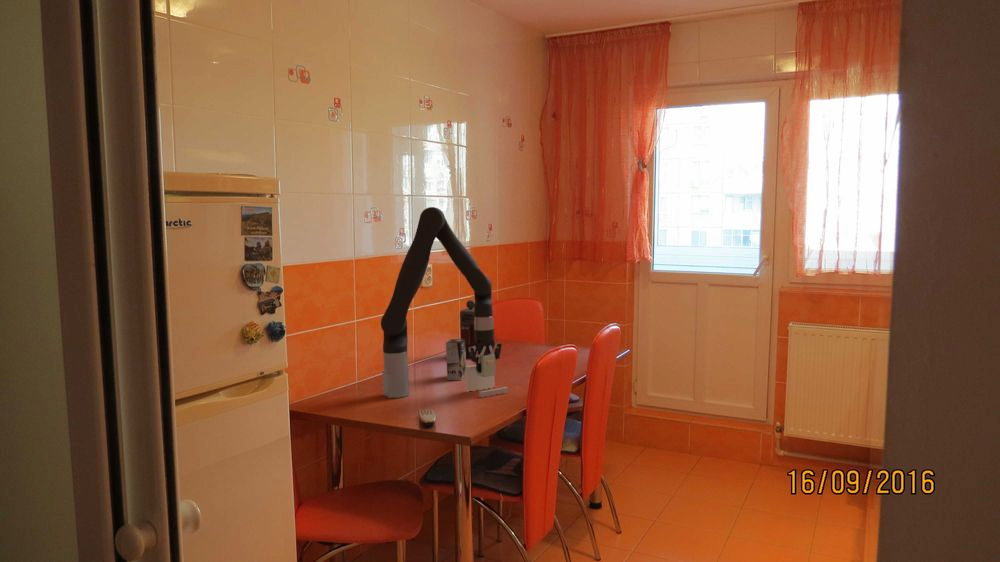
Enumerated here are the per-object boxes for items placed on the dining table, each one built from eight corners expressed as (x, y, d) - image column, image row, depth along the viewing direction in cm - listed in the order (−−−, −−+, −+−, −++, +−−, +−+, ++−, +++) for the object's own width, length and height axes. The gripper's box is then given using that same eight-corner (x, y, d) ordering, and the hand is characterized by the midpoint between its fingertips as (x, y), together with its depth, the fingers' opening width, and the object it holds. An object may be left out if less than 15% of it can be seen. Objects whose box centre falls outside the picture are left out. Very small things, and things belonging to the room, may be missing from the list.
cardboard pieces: (480, 397, 263) (479, 371, 262) (466, 391, 273) (465, 366, 272) (507, 392, 269) (507, 367, 268) (493, 387, 279) (492, 362, 278)
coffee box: (461, 380, 292) (460, 342, 291) (446, 380, 294) (445, 342, 292) (467, 375, 301) (465, 338, 300) (452, 375, 302) (451, 338, 301)
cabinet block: (485, 377, 266) (484, 357, 265) (476, 374, 272) (475, 354, 271) (496, 375, 268) (496, 355, 268) (487, 372, 274) (487, 352, 274)
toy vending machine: (459, 359, 336) (457, 301, 334) (467, 354, 347) (465, 298, 345) (477, 359, 334) (474, 301, 331) (484, 355, 344) (482, 298, 342)
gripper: (472, 331, 262) (474, 375, 264) (505, 327, 269) (506, 370, 271) (463, 328, 269) (465, 372, 270) (495, 324, 276) (497, 367, 277)
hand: (485, 371), depth 270 cm, fingers closed on cabinet block, 5 cm apart
